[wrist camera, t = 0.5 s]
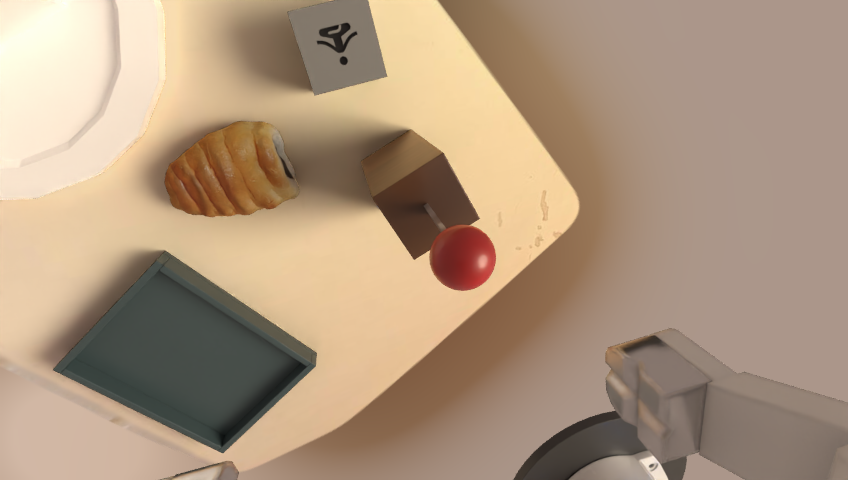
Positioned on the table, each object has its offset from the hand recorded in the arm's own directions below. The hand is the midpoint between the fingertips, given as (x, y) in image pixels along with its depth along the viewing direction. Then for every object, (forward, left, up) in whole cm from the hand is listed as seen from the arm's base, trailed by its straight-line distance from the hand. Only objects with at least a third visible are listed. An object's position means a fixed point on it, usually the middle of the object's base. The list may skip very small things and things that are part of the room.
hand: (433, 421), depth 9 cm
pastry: (+6, +7, -29) cm, 30 cm away
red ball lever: (-3, -2, -28) cm, 29 cm away
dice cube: (+7, -5, -29) cm, 30 cm away
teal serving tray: (-2, +23, -28) cm, 37 cm away
